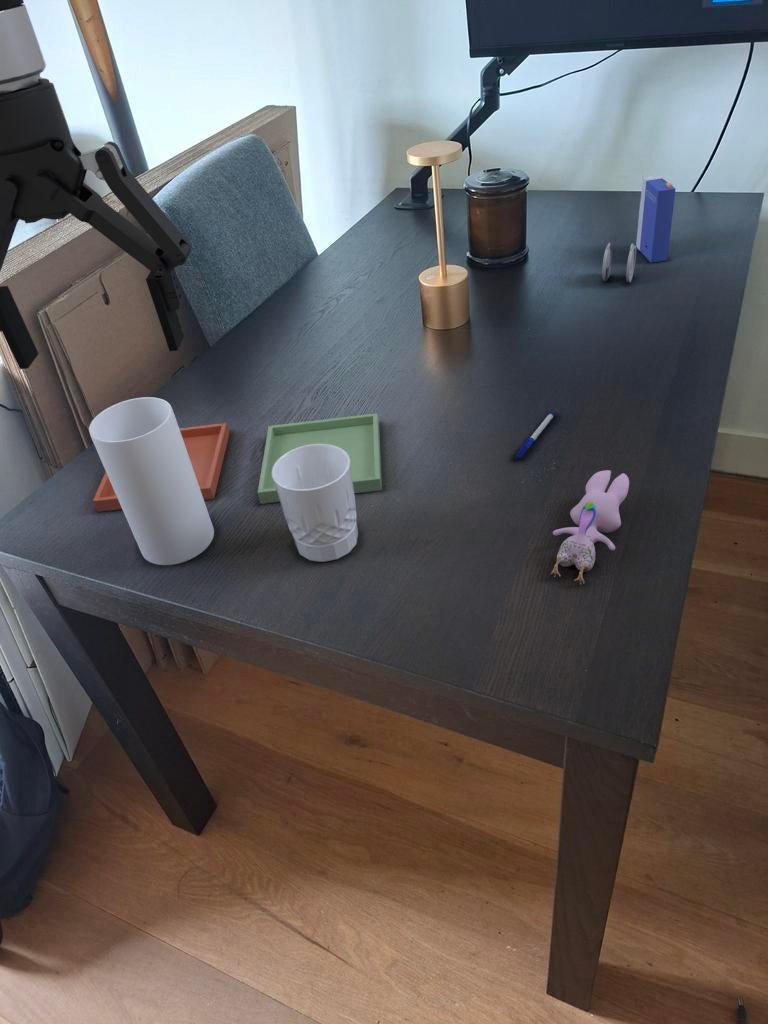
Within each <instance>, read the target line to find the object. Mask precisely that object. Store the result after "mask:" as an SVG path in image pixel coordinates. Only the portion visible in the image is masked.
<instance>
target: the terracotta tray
mask: <svg viewBox="0 0 768 1024" xmlns="http://www.w3.org/2000/svg"><path fill="white" fill-rule="evenodd" d="M179 429H180V432H181V435H182V438H183V441H184V444H185V447H186V450H187V453H188V455H189V458H190V461H191V464H192V467H193V470H194V473H195V476H196V479H197V482H198V485H199V487H200V490H201V493H202V496H203V499H204V501H206V500H214V499H215V497H216V496H215V495H216V492H217V488H218V483H219V479H220V475H221V471H222V467H223V463H224V458H225V455H226V450H227V446H228V442H229V438H230V430H229V427H228V423H227V422H223V423H213V424H206V425H205V424H204V425H198V426H189V427H179ZM92 503H93V505H94V507H95V509H96V512H97V513H101V512H110V511H120V510H122V507H121V505H120V503H119V500H118V498H117V496H116V493H115V491H114V489H113V487H112V484H111V482H110V480H109V477H108V475H107V473H106V471H105V472H104V474H103V477H102V479H101V481H100V484H99V486H98V488H97V491H96V493H95V495H94V497H93V500H92Z"/></svg>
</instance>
